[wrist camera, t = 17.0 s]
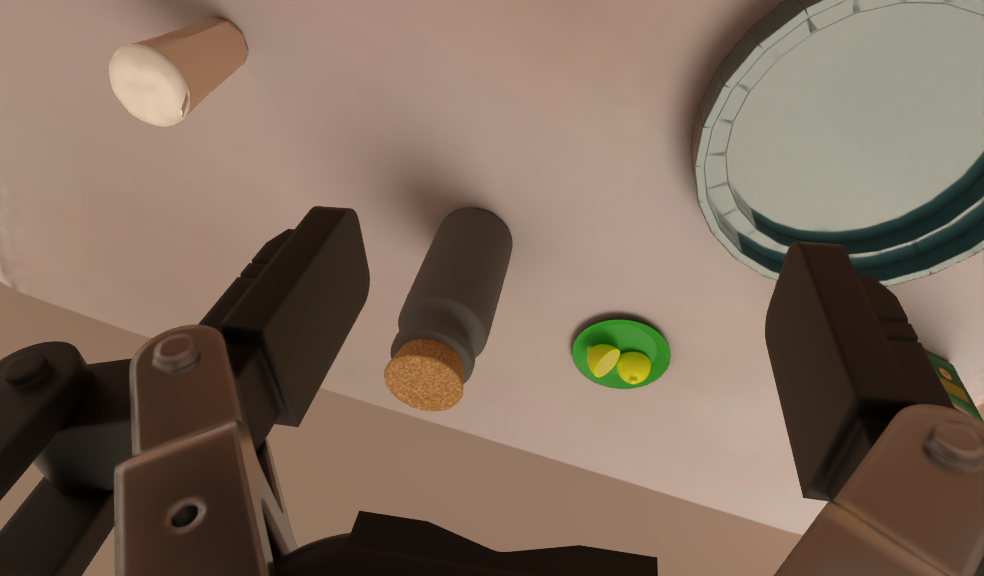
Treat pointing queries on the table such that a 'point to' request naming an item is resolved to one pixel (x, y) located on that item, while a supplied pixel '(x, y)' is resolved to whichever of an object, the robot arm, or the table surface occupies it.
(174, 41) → the milkshake
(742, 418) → the table surface
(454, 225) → the bottle
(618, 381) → the lemons on green plate
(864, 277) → the robot arm
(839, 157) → the teal plate
